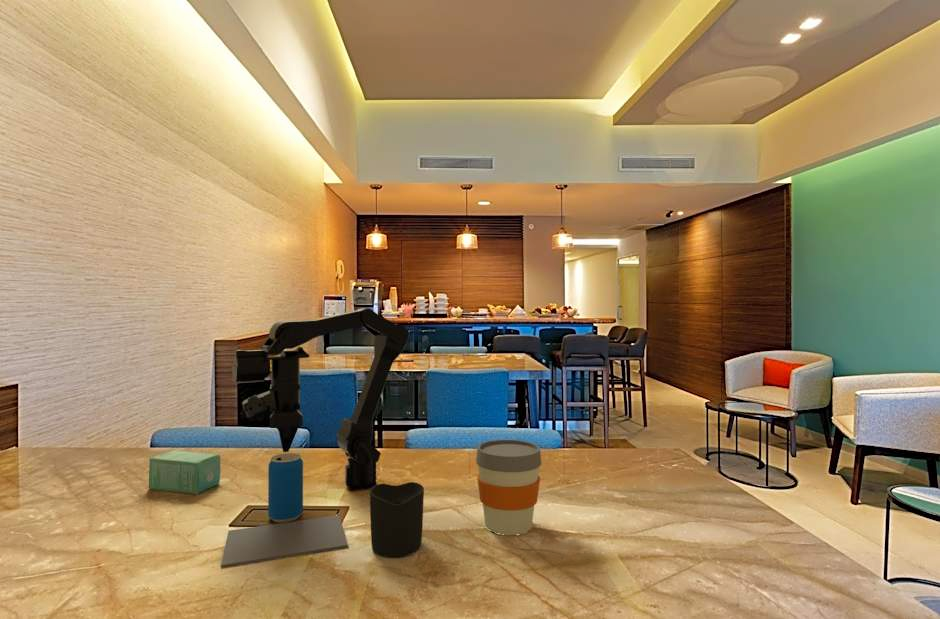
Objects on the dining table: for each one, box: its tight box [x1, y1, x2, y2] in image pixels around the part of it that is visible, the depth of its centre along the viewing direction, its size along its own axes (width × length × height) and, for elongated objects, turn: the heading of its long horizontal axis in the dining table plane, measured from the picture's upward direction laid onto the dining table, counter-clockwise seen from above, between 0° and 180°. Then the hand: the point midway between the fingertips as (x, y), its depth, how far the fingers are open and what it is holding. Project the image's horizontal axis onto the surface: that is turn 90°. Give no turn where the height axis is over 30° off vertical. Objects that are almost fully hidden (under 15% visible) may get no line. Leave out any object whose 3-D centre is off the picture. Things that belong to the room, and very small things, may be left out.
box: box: [148, 449, 221, 495], centre depth 117 cm, size 7×14×8 cm, turn 77°
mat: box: [220, 514, 349, 568], centre depth 90 cm, size 20×14×1 cm
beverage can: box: [267, 452, 304, 523], centre depth 100 cm, size 6×6×12 cm
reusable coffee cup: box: [475, 439, 542, 536], centre depth 97 cm, size 12×13×15 cm
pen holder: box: [369, 481, 425, 559], centre depth 88 cm, size 9×9×10 cm
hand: (285, 451), depth 109 cm, fingers closed
